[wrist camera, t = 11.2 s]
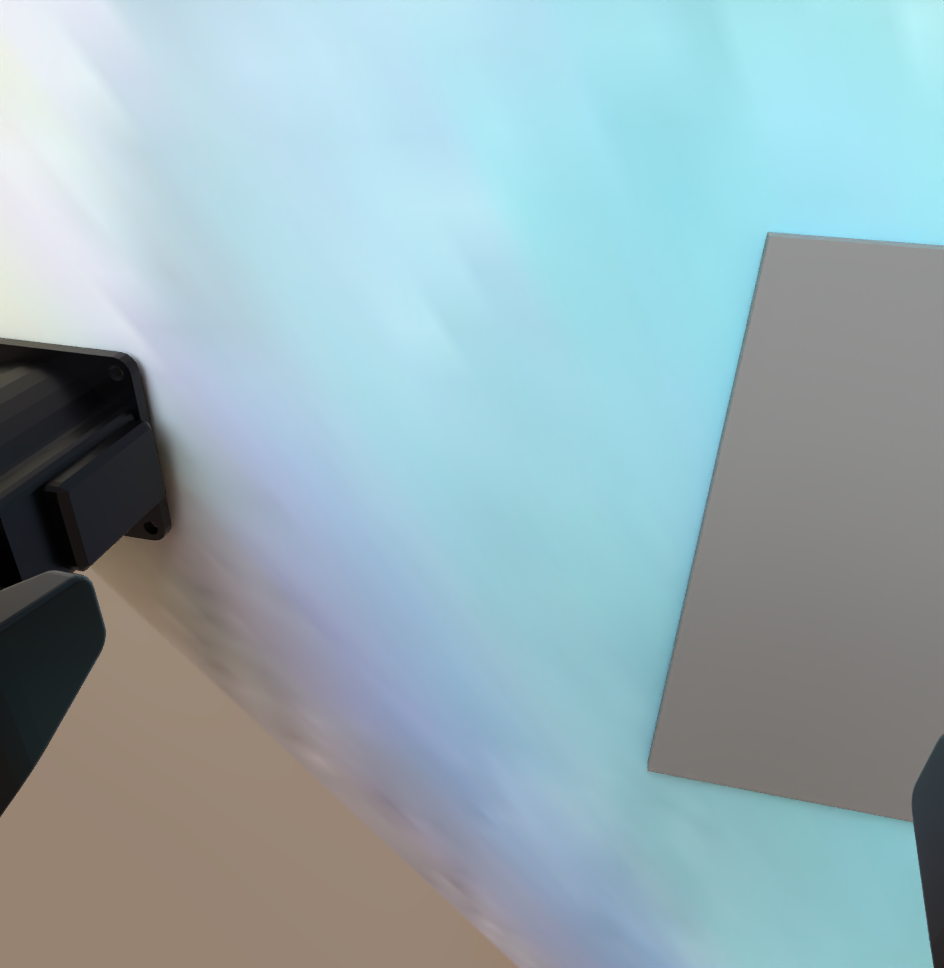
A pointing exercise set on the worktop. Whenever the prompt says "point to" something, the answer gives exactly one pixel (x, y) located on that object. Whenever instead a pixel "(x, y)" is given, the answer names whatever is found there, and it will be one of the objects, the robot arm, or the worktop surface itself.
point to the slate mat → (821, 539)
